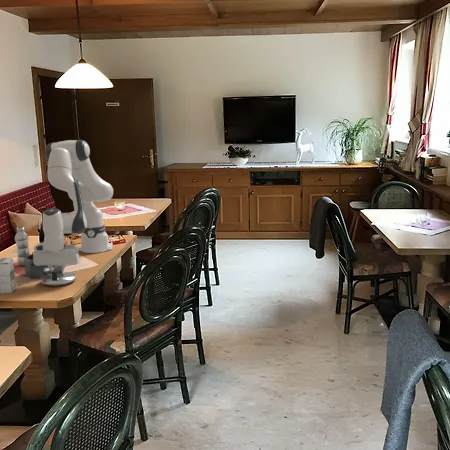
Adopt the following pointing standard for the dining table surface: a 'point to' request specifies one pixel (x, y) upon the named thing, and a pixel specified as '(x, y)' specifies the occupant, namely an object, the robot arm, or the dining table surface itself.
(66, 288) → the dining table surface
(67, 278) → the lid
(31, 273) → the pot
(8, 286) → the syrup box
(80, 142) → the robot arm
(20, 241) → the plastic bottle
